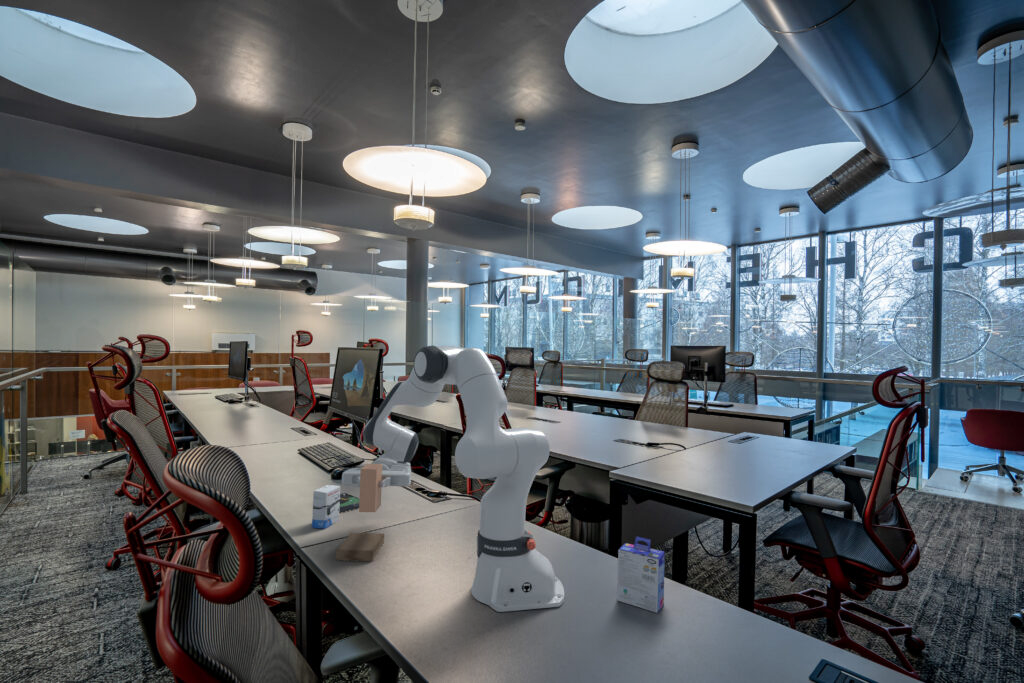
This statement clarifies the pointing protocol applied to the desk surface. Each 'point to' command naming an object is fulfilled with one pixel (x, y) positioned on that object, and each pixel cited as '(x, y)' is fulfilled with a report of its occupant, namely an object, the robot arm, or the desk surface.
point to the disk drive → (348, 502)
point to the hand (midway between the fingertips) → (370, 484)
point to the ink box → (326, 506)
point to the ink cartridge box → (641, 575)
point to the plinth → (360, 547)
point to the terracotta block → (370, 488)
